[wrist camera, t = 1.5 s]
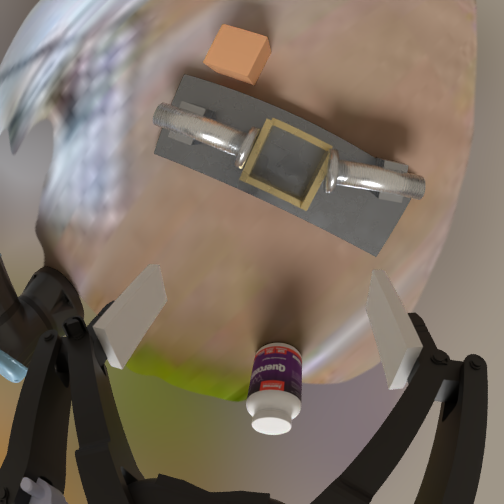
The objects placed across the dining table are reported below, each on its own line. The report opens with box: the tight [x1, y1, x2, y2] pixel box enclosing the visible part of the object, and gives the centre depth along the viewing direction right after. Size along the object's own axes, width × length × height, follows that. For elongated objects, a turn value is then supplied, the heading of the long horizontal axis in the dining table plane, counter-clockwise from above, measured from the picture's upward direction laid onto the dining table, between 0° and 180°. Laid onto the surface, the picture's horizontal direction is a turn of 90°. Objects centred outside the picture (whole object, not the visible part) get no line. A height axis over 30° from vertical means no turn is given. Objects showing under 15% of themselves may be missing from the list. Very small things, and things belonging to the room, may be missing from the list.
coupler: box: [203, 24, 271, 86], centre depth 25 cm, size 5×5×6 cm
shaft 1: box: [153, 101, 261, 169], centre depth 28 cm, size 11×5×6 cm, turn 67°
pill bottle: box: [246, 343, 302, 435], centre depth 39 cm, size 8×8×14 cm
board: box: [154, 74, 411, 257], centre depth 30 cm, size 32×11×4 cm, turn 67°
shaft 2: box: [323, 148, 425, 203], centre depth 28 cm, size 11×5×6 cm, turn 87°
